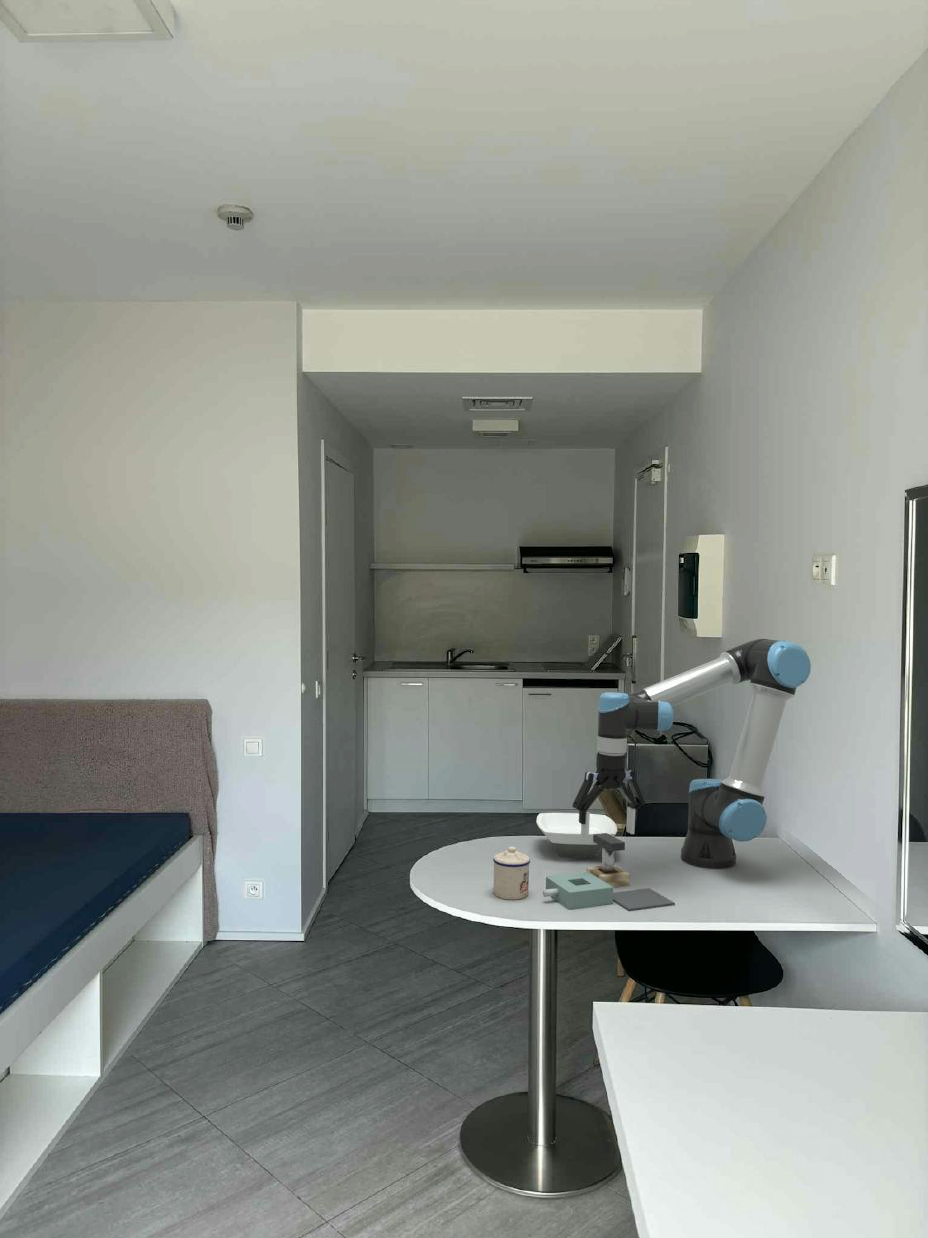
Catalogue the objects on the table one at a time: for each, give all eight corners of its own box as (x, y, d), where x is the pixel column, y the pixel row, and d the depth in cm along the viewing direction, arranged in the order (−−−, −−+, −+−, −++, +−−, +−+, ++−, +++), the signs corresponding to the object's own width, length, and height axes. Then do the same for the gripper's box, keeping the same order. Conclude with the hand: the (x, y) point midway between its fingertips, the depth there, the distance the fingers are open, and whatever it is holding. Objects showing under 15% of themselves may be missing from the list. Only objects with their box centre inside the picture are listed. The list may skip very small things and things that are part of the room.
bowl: (621, 865, 244) (622, 834, 244) (538, 862, 245) (539, 832, 244) (609, 841, 267) (610, 814, 266) (533, 839, 267) (533, 812, 266)
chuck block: (587, 887, 225) (588, 872, 225) (612, 903, 214) (613, 887, 214) (533, 894, 219) (533, 878, 219) (555, 911, 208) (556, 894, 208)
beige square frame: (612, 875, 235) (613, 864, 235) (629, 885, 227) (629, 874, 227) (586, 878, 232) (586, 867, 232) (602, 888, 224) (602, 877, 224)
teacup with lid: (527, 902, 214) (528, 854, 213) (490, 899, 215) (491, 851, 215) (531, 885, 226) (533, 840, 225) (496, 882, 227) (497, 837, 227)
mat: (649, 890, 224) (649, 888, 224) (674, 905, 214) (675, 903, 214) (604, 895, 220) (604, 893, 220) (628, 911, 209) (628, 909, 209)
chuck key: (605, 876, 235) (606, 833, 234) (623, 887, 226) (625, 842, 226) (592, 877, 233) (593, 834, 233) (610, 888, 225) (611, 843, 224)
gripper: (644, 748, 237) (640, 827, 237) (561, 751, 227) (558, 833, 228) (660, 754, 230) (656, 835, 230) (576, 757, 220) (572, 842, 221)
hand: (607, 834), depth 229 cm, fingers open, 13 cm apart
